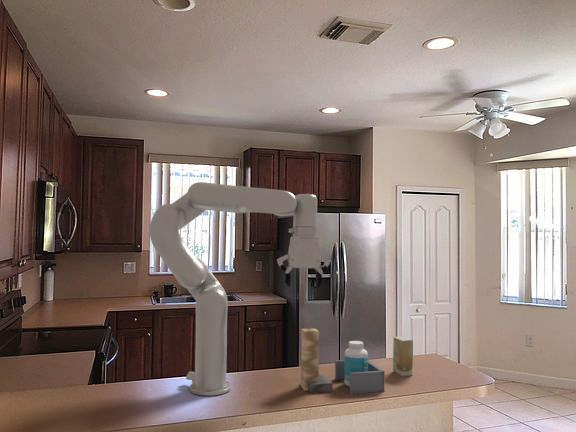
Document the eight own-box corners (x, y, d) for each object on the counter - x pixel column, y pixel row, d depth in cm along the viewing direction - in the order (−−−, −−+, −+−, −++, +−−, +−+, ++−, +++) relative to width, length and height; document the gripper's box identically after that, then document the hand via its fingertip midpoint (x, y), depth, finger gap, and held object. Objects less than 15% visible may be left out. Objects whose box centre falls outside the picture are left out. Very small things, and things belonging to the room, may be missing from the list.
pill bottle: (369, 388, 146) (369, 345, 147) (345, 388, 147) (345, 344, 147) (365, 381, 154) (365, 339, 155) (343, 381, 154) (343, 339, 155)
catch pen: (350, 393, 142) (350, 373, 142) (334, 378, 156) (335, 360, 157) (384, 391, 144) (384, 371, 144) (365, 376, 159) (365, 358, 159)
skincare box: (392, 371, 166) (392, 336, 166) (403, 370, 167) (403, 335, 167) (402, 376, 159) (402, 340, 160) (413, 375, 161) (413, 339, 161)
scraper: (306, 393, 142) (306, 333, 143) (299, 383, 151) (299, 327, 151) (332, 391, 144) (332, 332, 144) (323, 382, 152) (324, 326, 153)
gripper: (280, 231, 146) (278, 287, 145) (333, 233, 149) (332, 287, 148) (276, 231, 153) (274, 284, 152) (327, 233, 156) (326, 285, 155)
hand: (303, 286), depth 150 cm, fingers open, 9 cm apart
